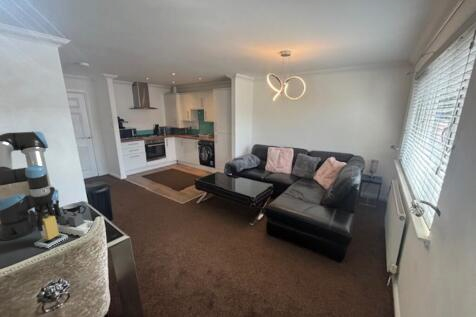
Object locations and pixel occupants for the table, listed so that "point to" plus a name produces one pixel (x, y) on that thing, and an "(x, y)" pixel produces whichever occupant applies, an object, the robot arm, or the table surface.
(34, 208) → the robot arm
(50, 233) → the plug
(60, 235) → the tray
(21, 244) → the table surface
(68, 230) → the strip
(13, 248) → the table surface
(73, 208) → the mug
